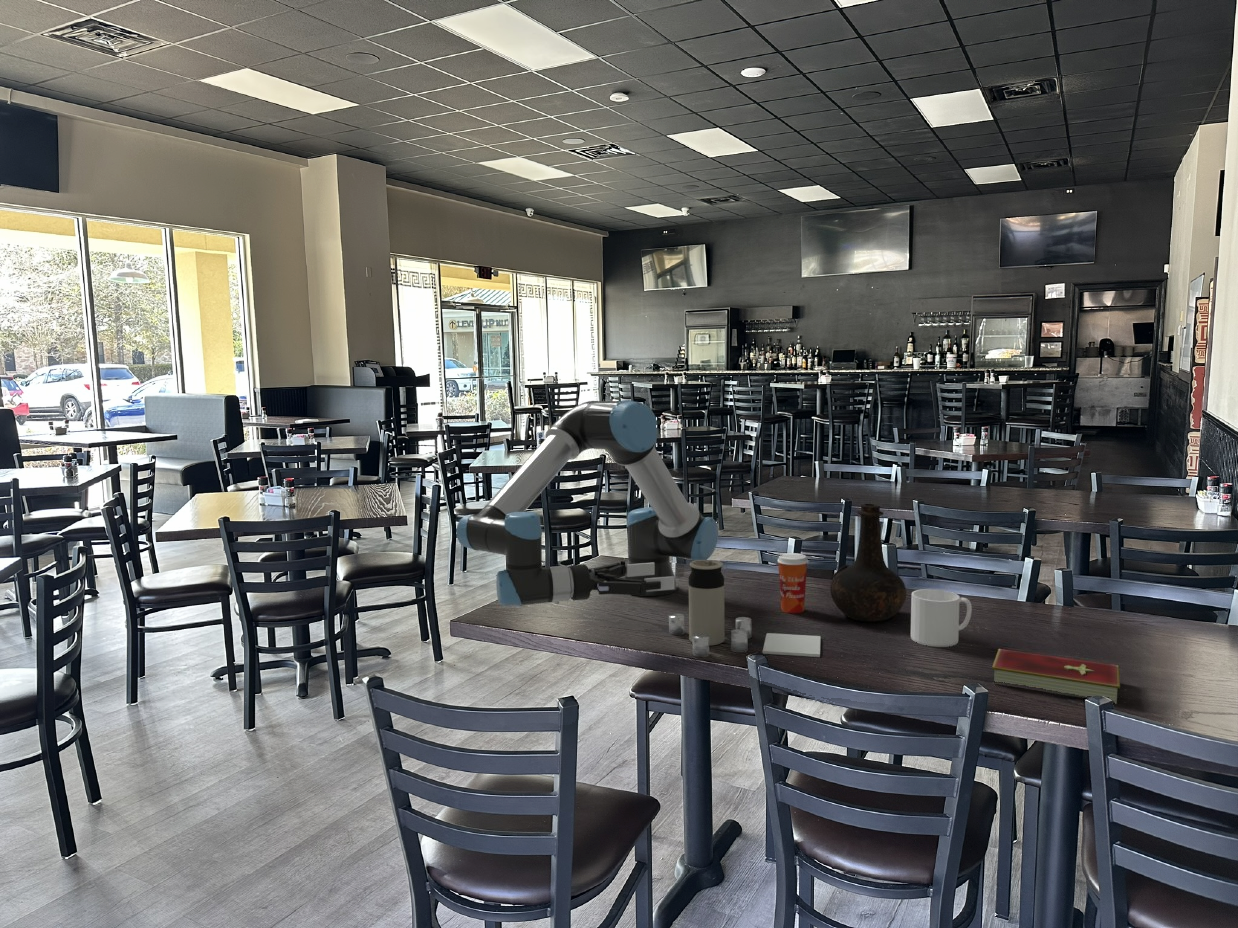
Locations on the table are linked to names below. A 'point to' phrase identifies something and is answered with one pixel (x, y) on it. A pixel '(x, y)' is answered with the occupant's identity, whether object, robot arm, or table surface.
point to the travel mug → (706, 600)
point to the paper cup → (792, 581)
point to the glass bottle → (868, 576)
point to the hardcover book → (1057, 674)
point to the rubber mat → (792, 645)
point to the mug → (937, 617)
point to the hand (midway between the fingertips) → (663, 575)
